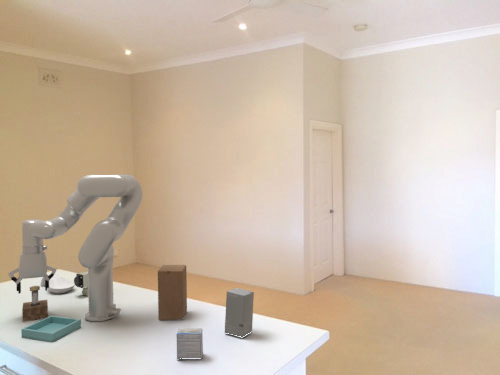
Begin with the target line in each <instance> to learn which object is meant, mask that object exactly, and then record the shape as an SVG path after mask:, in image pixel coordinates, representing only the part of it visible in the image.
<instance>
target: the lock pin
mask: <svg viewBox="0 0 500 375" xmlns="http://www.w3.org/2000/svg"><path fill="white" fill-rule="evenodd" d="M40 288H41V286H39V285H32V286H30V287H29V291H30V292H31V302H32V306H35V305H39V302H38V301H39V291H40Z"/></svg>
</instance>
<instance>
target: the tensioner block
mask: <svg viewBox="0 0 500 375" xmlns="http://www.w3.org/2000/svg"><path fill="white" fill-rule="evenodd" d="M38 302H39V305H35V306H32V301H26V302H23V303H22V307H21V308H22V309H21V310H22V313H21V314H22V323H25V322H29V321H32V322H33V321H37V320H43V319H45V318H47V317H49V309H48V306H49V304H48V302H49V301H48V299H42V300H38Z"/></svg>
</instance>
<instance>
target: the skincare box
mask: <svg viewBox="0 0 500 375" xmlns="http://www.w3.org/2000/svg"><path fill="white" fill-rule="evenodd" d="M254 293H255V292H254V291H251V290H247V289H243V288H240V287H239V288H238V287H235V288H232V289H229V290H227V291H226V298H225V319H224V320H225V321H224V334H225V333H229V334H233V335H237V336H241V337H243V336H245V335H246V334H248V333H250V332H251V331H252V332H253V322H254V321H253V320H254V316H253V314H254V298H255V294H254Z"/></svg>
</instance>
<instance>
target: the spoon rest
mask: <svg viewBox="0 0 500 375" xmlns="http://www.w3.org/2000/svg"><path fill="white" fill-rule="evenodd" d="M50 274H51V273H50ZM50 274H47V275H48V276H49V275H50ZM45 280H46V279H45V278H44V277H41V281H40V287H45ZM75 286H76V285H75V284H74V281H73V280H69V279H66V278H65V277H62V276H60V275H58V274H56V273H55V274H54V276H53V277H52V278H51V279H50V280H49V288H48V289H49V290H50V291H51V292H52V293H54V294H64V293H67V292H70V291H71V290H72V289H74V287H75Z"/></svg>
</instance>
